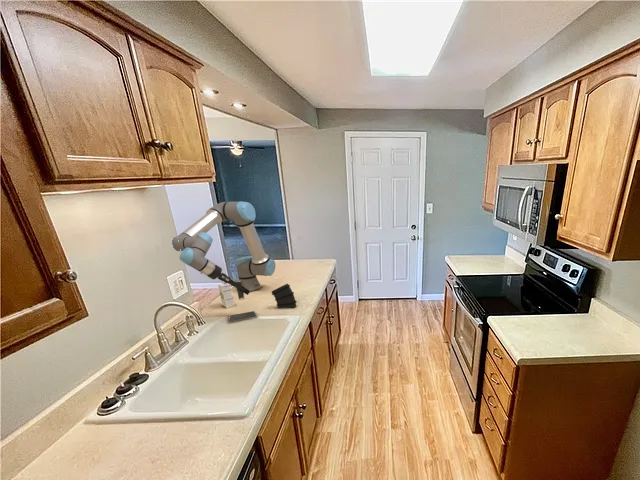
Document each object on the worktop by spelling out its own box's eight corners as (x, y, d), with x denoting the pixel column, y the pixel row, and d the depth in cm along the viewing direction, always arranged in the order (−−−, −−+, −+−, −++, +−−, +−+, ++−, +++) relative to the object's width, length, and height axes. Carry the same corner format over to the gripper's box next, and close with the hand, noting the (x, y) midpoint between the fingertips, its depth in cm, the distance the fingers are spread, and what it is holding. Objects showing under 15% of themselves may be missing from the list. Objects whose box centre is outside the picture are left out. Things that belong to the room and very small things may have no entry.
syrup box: (235, 305, 206) (231, 283, 201) (225, 308, 202) (221, 285, 197) (231, 303, 210) (227, 281, 205) (222, 305, 206) (217, 283, 201)
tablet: (228, 317, 189) (227, 315, 188) (254, 312, 195) (253, 310, 195) (229, 323, 182) (229, 321, 181) (256, 317, 188) (256, 315, 188)
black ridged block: (299, 305, 201) (286, 284, 196) (281, 314, 203) (268, 293, 199) (301, 303, 205) (288, 282, 200) (283, 311, 207) (270, 291, 202)
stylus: (238, 298, 191) (235, 280, 187) (244, 298, 192) (240, 280, 188) (239, 300, 188) (235, 282, 184) (244, 299, 190) (241, 281, 186)
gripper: (201, 273, 179) (238, 294, 196) (211, 278, 169) (249, 300, 185) (210, 261, 181) (245, 284, 198) (220, 266, 170) (257, 289, 187)
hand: (247, 292), depth 192 cm, fingers closed on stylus, 3 cm apart
